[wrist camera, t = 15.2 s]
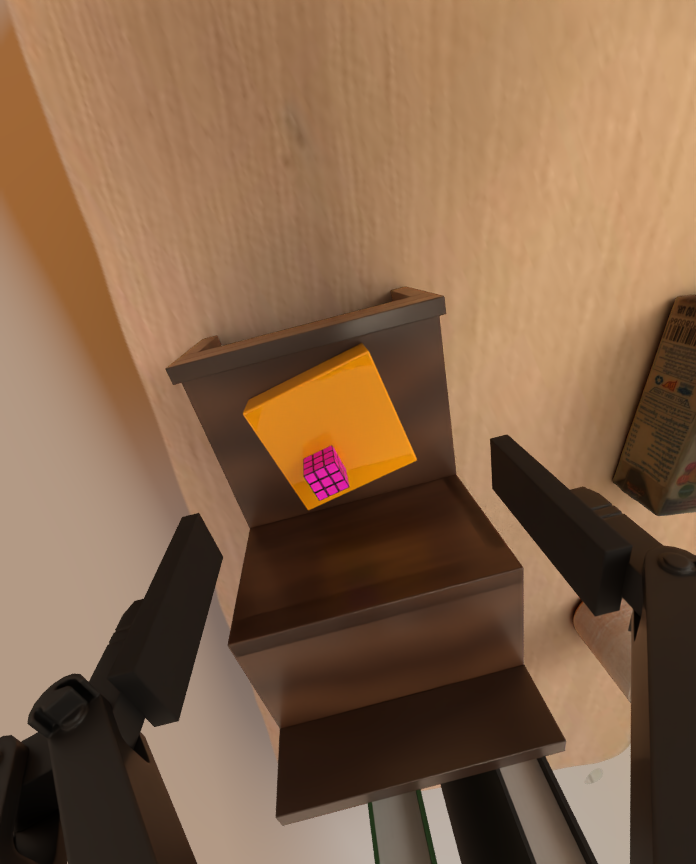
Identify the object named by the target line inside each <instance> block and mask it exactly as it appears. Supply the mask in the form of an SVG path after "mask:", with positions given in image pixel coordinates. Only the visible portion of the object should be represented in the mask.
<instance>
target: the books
mask: <svg viewBox="0 0 696 864" xmlns="http://www.w3.org/2000/svg"><path fill="white" fill-rule="evenodd" d="M441 788H442V792H443V795H444V799H445V803H446V807H447V811H448V814H449V818H450V822H451V826H452V829H453V833H454V837H455V840H456V844H457V848H458V852H459V856H460V860H461V863H462V864H598V863H597V861H596V859H595V857H594V855H593V853H592V851H591V849H590V847H589V844H588V842H587V840H586V838H585V836H584V834H583V832H582V830H581V828H580V826H579V824H578V822H577V820H576V818H575V816H574V814H573V812H572V810H571V808H570V806H569V804H568V802H567V800H566V798H565V796H564V794H563V792H562V790H561V788H560V786H559V783H558V782H557V779H556V778H555V775H554V773H553V771H552V769H551V767H550V765H549V763H548V761H547V759H546V757H545V756H544V757H541V758H537V759H533V760H529V761H525V762H522V763H518V764H514V765H510V766H507V767H503V768H499V769H495V770H491V771H488V772H484V773H480V774H476V775H473V776H469V777H465V778H461V779H457V780H454V781H450V782H446V783H442V784H441ZM368 810H369V818H370V826H371V834H372V842H373V850H374V859H375V864H437V861H436V856H435V852H434V848H433V843H432V838H431V834H430V829H429V825H428V821H427V816H426V812H425V807H424V803H423V799H422V794H421V789H420V790H416V791H412V792H408V793H405V794H401V795H397V796H393V797H390V798H386V799H382V800H378V801H374V802H371V803H368Z"/></svg>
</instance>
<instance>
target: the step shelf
mask: <svg viewBox="0 0 696 864" xmlns="http://www.w3.org/2000/svg"><path fill="white" fill-rule="evenodd" d="M391 295H392V301H393V302H389V303H385V304H381V305H378V306H374V307H370V308H366V309H362V310H358V311H354V312H351V313H347V314H343V315H339V316H335V317H331V318H328V319H324V320H320V321H316V322H312V323H308V324H304V325H301V326H297V327H293V328H289V329H285V330H281V331H278V332H274V333H270V334H266V335H262V336H258V337H255V338H251V339H247V340H243V341H239V342H235V343H231V344H228V345H224V346H221V343H220V341H219V338H218V336H213V337H209V338H205V339H202V340H201V341H200V342H199V343H197V344H196V345H195V346H194V347H192V348H191V349H190V350H188V351H187V352H186V353H185V354H183V355H182V356H181V357H180V358H178V359H177V360H176V361H175V362H173V363H172V364H171V365H169V366H168V367H167V368H166V371H167V373H168V375H169V377H170V379H171V382H172V384H173V385H175V384H179V383H182V384H183V387H184V389H185V391H186V393H187V395H188V397H189V399H190V402H191V404H192V406H193V408H194V410H195V412H196V414H197V416H198V419H199V421H200V423H201V425H202V427H203V429H204V431H205V434H206V436H207V438H208V440H209V442H210V444H211V446H212V448H213V451H214V453H215V455H216V457H217V459H218V461H219V463H220V466H221V468H222V470H223V472H224V474H225V476H226V478H227V480H228V483H229V485H230V487H231V489H232V491H233V493H234V495H235V498H236V500H237V502H238V504H239V506H240V508H241V510H242V512H243V515H244V517H245V519H246V521H247V523H248V525H249V527H250V532H249V537H248V542H247V548H246V553H245V558H244V563H243V568H242V573H241V578H240V584H239V589H238V594H237V599H236V604H235V609H234V615H233V621H232V625H231V630H230V635H229V641H228V647H229V649H230V650H231V652H232V653H233V655H234V657H235V658H236V660H237V661H238V663H239V665H240V666H241V668H242V669H243V671H244V672H245V674H246V676H247V677H248V679H249V680H250V682H251V683H252V685H253V687H254V688H255V690H256V691H257V693H258V695H259V696H260V698H261V699H262V701H263V702H264V704H265V706H266V707H267V709H268V710H269V712H270V713H271V715H272V717H273V718H274V720H275V721H276V723H277V725H278V726H279V728H280V736H279V757H278V778H277V779H278V780H277V801H276V818H277V820H278V821H279V822H280V823H281V825H283V826H284V825H287V824H291V823H295V822H299V821H303V820H306V819H310V818H314V817H317V816H322V815H325V814H329V813H333V812H337V811H340V810H344V809H348V808H352V807H356V806H359V805H363V804H367V803H371V802H374V801H378V800H382V799H386V798H390V797H393V796H397V795H401V794H405V793H408V792H412V791H416V790H420V789H424V788H427V787H431V786H435V785H439V784H442V783H446V782H450V781H454V780H457V779H461V778H465V777H469V776H473V775H476V774H480V773H484V772H488V771H491V770H495V769H499V768H503V767H507V766H510V765H514V764H518V763H522V762H525V761H529V760H533V759H537V758H541V757H544V756H548V755H552V754H556V753H559V752H563V751H565V746H566V740H565V738H564V736H563V734H562V732H561V730H560V729H559V727H558V725H557V723H556V721H555V720H554V718H553V716H552V714H551V712H550V710H549V709H548V707H547V705H546V703H545V701H544V700H543V698H542V696H541V694H540V692H539V690H538V689H537V687H536V685H535V683H534V681H533V680H532V678H531V676H530V674H529V672H528V670H527V669H526V667H525V665H524V586H523V567H522V565H521V564H520V562H519V561H518V560H517V558H516V557H515V555H514V554H513V553H512V551H511V550H510V549H509V547H508V546H507V544H506V543H505V541H504V540H503V539H502V537H501V536H500V535H499V533H498V532H497V530H496V529H495V528H494V526H493V525H492V523H491V522H490V521H489V519H488V518H487V516H486V515H485V514H484V512H483V511H482V510H481V508H480V507H479V505H478V504H477V503H476V501H475V500H474V498H473V497H472V496H471V494H470V493H469V492H468V490H467V489H466V487H465V486H464V485H463V483H462V482H461V480H460V479H459V478H458V476H457V475H456V466H455V457H454V448H453V438H452V429H451V420H450V411H449V401H448V392H447V383H446V374H445V364H444V355H443V346H442V336H441V327H440V318H439V316H440V315H444V314H446V308H445V298H444V296H442V295H438V294H434V293H430V292H426V291H422V290H418V289H414V288H410V287H401V288H398V289H394V290H391ZM361 343H363V344H364V345H365V347H366V348H367V349H368V351H369V352H370V355H371V357H372V359H373V361H374V364H375V366H376V368H377V370H378V373H379V375H380V377H381V379H382V382H383V384H384V386H385V388H386V391H387V393H388V395H389V397H390V400H391V402H392V404H393V406H394V409H395V411H396V413H397V415H398V417H399V420H400V422H401V424H402V426H403V429H404V431H405V433H406V435H407V438H408V440H409V442H410V444H411V447H412V449H413V451H414V453H415V456H416V458H417V460H416V461H415V462H413V463H410V464H408V465H406V466H404V467H402V468H399V469H397V470H395V471H393V472H391V473H389V474H386V475H384V476H382V477H380V478H378V479H376V480H373V481H371V482H369V483H367V484H365V485H363V486H360V487H358V488H356V489H354V490H352V491H350V492H347V493H345V494H343V495H341V496H339V497H337V498H334V499H332V500H330V501H328V502H326V503H324V504H321V505H319V506H317V507H315V508H313V509H311V510H308V509H307V508H306V507H305V505H304V504H303V502H302V501H301V499H300V498H299V496H298V495H297V493H296V492H295V490H294V489H293V488H292V486H291V485H290V483H289V482H288V480H287V479H286V477H285V476H284V474H283V473H282V471H281V470H280V468H279V467H278V465H277V464H276V463H275V461H274V460H273V458H272V457H271V455H270V454H269V452H268V451H267V449H266V448H265V446H264V445H263V443H262V442H261V440H260V439H259V438H258V436H257V435H256V433H255V432H254V430H253V429H252V427H251V426H250V424H249V423H248V421H247V420H246V418H245V417H244V416H243V412H244V409H245V407H246V404H247V401H248V400H249V399H251V398H253V397H255V396H257V395H259V394H261V393H263V392H265V391H267V390H269V389H271V388H273V387H275V386H277V385H279V384H281V383H283V382H285V381H287V380H289V379H291V378H293V377H295V376H297V375H299V374H301V373H303V372H305V371H307V370H309V369H311V368H313V367H315V366H317V365H319V364H321V363H323V362H325V361H327V360H329V359H331V358H333V357H335V356H337V355H339V354H341V353H343V352H345V351H347V350H349V349H351V348H353V347H355V346H357V345H359V344H361Z"/></svg>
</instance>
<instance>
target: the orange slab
mask: <svg viewBox="0 0 696 864" xmlns="http://www.w3.org/2000/svg"><path fill="white" fill-rule="evenodd" d="M243 416H244V417H245V418H246V420H247V421H248V423H249V424H250V426H251V427H252V429H253V430H254V432H255V433H256V435H257V436H258V438H259V439H260V440H261V442H262V443H263V445H264V446H265V448H266V449H267V451H268V452H269V454H270V455H271V457H272V458H273V460H274V461H275V463H276V464H277V465H278V467H279V468H280V470H281V471H282V473H283V474H284V476H285V477H286V479H287V480H288V482H289V483H290V485H291V486H292V488H293V489H294V490H295V492H296V493H297V495H298V496H299V498H300V499H301V501H302V502H303V504H304V505H305V507H306V508H307V509H308V510H311V509H313V508H315V507H317V506H319V505H321V504H324V503H326V502H328V501H330V500H332V499H334V498H337V497H339V496H341V495H343V494H345V493H347V492H350V491H352V490H354V489H356V488H358V487H360V486H363V485H365V484H367V483H369V482H371V481H373V480H376V479H378V478H380V477H382V476H384V475H386V474H389V473H391V472H393V471H395V470H397V469H399V468H402V467H404V466H406V465H408V464H410V463H413V462H415V461H416V460H417V458H416V456H415V453H414V451H413V449H412V447H411V444H410V442H409V440H408V438H407V435H406V433H405V431H404V429H403V426H402V424H401V422H400V420H399V417H398V415H397V413H396V411H395V409H394V406H393V404H392V402H391V400H390V397H389V395H388V393H387V391H386V388H385V386H384V384H383V382H382V379H381V377H380V375H379V373H378V370H377V368H376V366H375V364H374V361H373V359H372V357H371V355H370V352H369V351H368V349H367V348H366V347H365V345H364V344H363V343H361V344H359V345H357V346H355V347H353V348H351V349H349V350H347V351H345V352H343V353H341V354H339V355H337V356H335V357H333V358H331V359H329V360H327V361H325V362H323V363H321V364H319V365H317V366H315V367H313V368H311V369H309V370H307V371H305V372H303V373H301V374H299V375H297V376H295V377H293V378H291V379H289V380H287V381H285V382H283V383H281V384H279V385H277V386H275V387H273V388H271V389H269V390H267V391H265V392H263V393H261V394H259V395H257V396H255V397H253V398H251V399H249V400H248V401H247V404H246V407H245V409H244V412H243Z"/></svg>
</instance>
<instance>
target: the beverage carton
mask: <svg viewBox="0 0 696 864" xmlns="http://www.w3.org/2000/svg"><path fill="white" fill-rule="evenodd" d="M613 483H614V484H616V485H617V486H618V487H619V488H620V489H621V490H622V491H623V492H625V493H626V494H628V495H629V496H630V497H631V498H633V499H635V500H636V501H638V502H639V503H641V504H642V505H643V506H644V507H646V508H647V509H648V510H650V511H651V512H652V513H654V514H655V515H657V516H665V515H674V514H682V513H693V512H696V295H690V296H679V297H677V298H676V299H675V302H674V305H673V308H672V310H671V313H670V316H669V319H668V322H667V325H666V327H665V330H664V333H663V336H662V339H661V342H660V345H659V348H658V350H657V353H656V356H655V359H654V362H653V365H652V368H651V371H650V374H649V376H648V379H647V383H646V385H645V388H644V391H643V394H642V397H641V400H640V402H639V405H638V408H637V411H636V414H635V417H634V420H633V423H632V425H631V428H630V431H629V434H628V436H627V440H626V443H625V446H624V448H623V451H622V454H621V457H620V462H619V464H618V467H617V470H616V473H615V476H614V478H613Z"/></svg>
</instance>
